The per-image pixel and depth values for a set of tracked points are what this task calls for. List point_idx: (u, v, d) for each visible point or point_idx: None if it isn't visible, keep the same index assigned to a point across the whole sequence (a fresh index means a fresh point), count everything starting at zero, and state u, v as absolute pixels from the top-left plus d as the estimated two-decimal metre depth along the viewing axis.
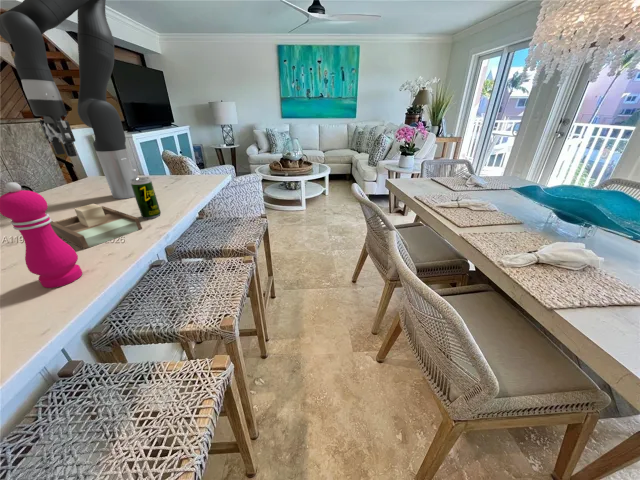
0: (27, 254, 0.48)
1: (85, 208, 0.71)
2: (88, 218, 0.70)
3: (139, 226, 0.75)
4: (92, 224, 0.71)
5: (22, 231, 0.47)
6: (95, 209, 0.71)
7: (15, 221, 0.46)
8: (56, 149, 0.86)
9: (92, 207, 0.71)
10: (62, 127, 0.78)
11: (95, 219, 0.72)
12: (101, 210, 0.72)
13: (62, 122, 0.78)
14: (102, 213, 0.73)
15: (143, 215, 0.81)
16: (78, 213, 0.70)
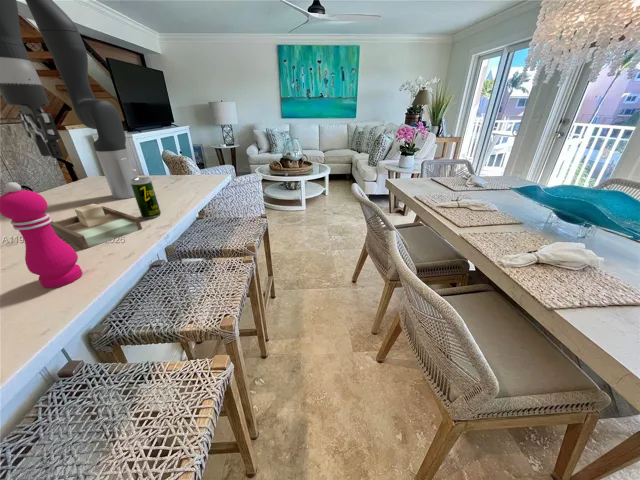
0: (27, 254, 0.48)
1: (85, 208, 0.71)
2: (88, 218, 0.70)
3: (139, 226, 0.75)
4: (92, 224, 0.71)
5: (22, 231, 0.47)
6: (95, 209, 0.71)
7: (15, 221, 0.46)
8: (41, 150, 0.69)
9: (92, 207, 0.71)
10: (44, 122, 0.62)
11: (95, 219, 0.72)
12: (101, 210, 0.72)
13: (44, 116, 0.62)
14: (102, 213, 0.73)
15: (143, 215, 0.81)
16: (78, 213, 0.70)
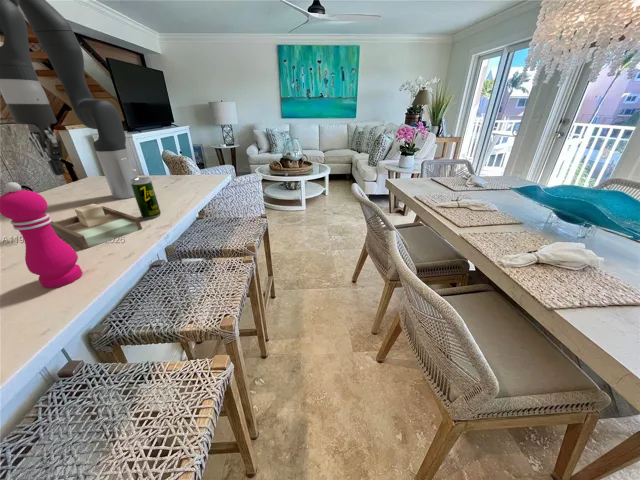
0: (27, 254, 0.48)
1: (85, 208, 0.71)
2: (88, 218, 0.70)
3: (139, 226, 0.75)
4: (92, 224, 0.71)
5: (22, 231, 0.47)
6: (95, 209, 0.71)
7: (15, 221, 0.46)
8: None
9: (92, 207, 0.71)
10: (52, 147, 0.65)
11: (95, 219, 0.72)
12: (101, 210, 0.72)
13: (53, 142, 0.65)
14: (102, 213, 0.73)
15: (143, 215, 0.81)
16: (78, 213, 0.70)
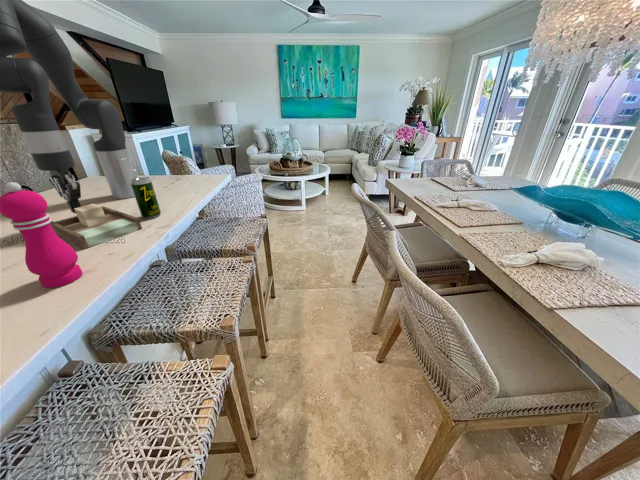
0: (27, 254, 0.48)
1: (85, 208, 0.71)
2: (88, 218, 0.70)
3: (139, 226, 0.75)
4: (92, 224, 0.71)
5: (22, 231, 0.47)
6: (95, 209, 0.71)
7: (15, 221, 0.46)
8: None
9: (92, 207, 0.71)
10: (71, 190, 0.70)
11: (95, 219, 0.72)
12: (101, 210, 0.72)
13: (73, 186, 0.70)
14: (102, 213, 0.73)
15: (143, 215, 0.81)
16: (78, 213, 0.70)
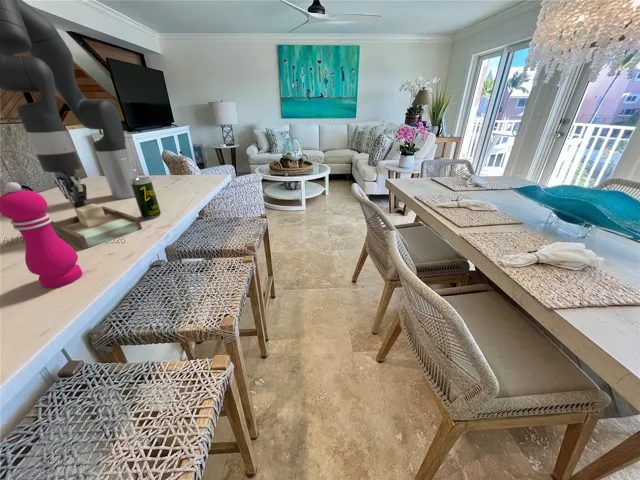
0: (27, 254, 0.48)
1: (85, 208, 0.71)
2: (88, 218, 0.70)
3: (139, 226, 0.75)
4: (92, 224, 0.71)
5: (22, 231, 0.47)
6: (95, 209, 0.71)
7: (15, 221, 0.46)
8: None
9: (92, 208, 0.71)
10: (77, 192, 0.68)
11: (95, 219, 0.72)
12: (101, 210, 0.72)
13: (79, 188, 0.68)
14: (102, 213, 0.73)
15: (143, 215, 0.81)
16: (78, 213, 0.70)
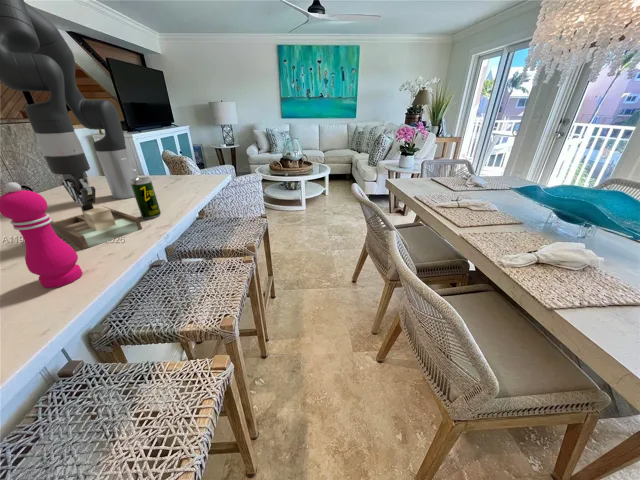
0: (27, 254, 0.48)
1: (93, 211, 0.69)
2: (96, 221, 0.68)
3: (139, 226, 0.75)
4: (100, 227, 0.69)
5: (22, 231, 0.47)
6: (103, 212, 0.69)
7: (15, 221, 0.46)
8: None
9: (101, 211, 0.69)
10: (86, 195, 0.66)
11: (104, 223, 0.70)
12: (109, 213, 0.70)
13: (88, 191, 0.66)
14: (110, 216, 0.71)
15: (143, 215, 0.81)
16: (86, 216, 0.68)
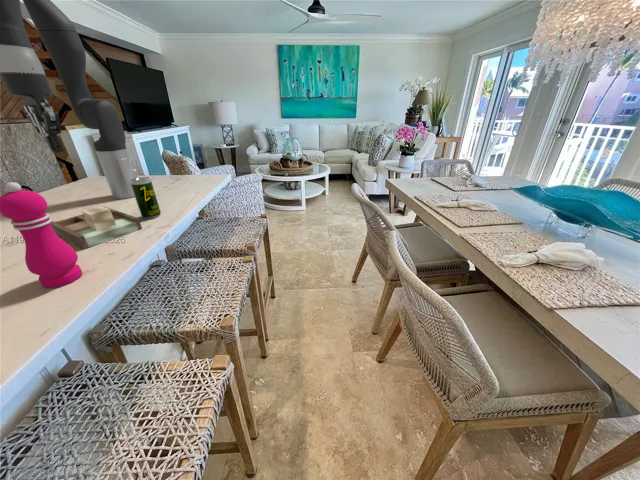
0: (27, 254, 0.48)
1: (93, 211, 0.69)
2: (96, 221, 0.68)
3: (139, 226, 0.75)
4: (100, 227, 0.69)
5: (22, 231, 0.47)
6: (103, 212, 0.69)
7: (15, 221, 0.46)
8: None
9: (101, 210, 0.69)
10: (49, 121, 0.61)
11: (104, 223, 0.70)
12: (109, 213, 0.70)
13: (51, 115, 0.61)
14: (110, 216, 0.71)
15: (143, 215, 0.81)
16: (86, 216, 0.68)
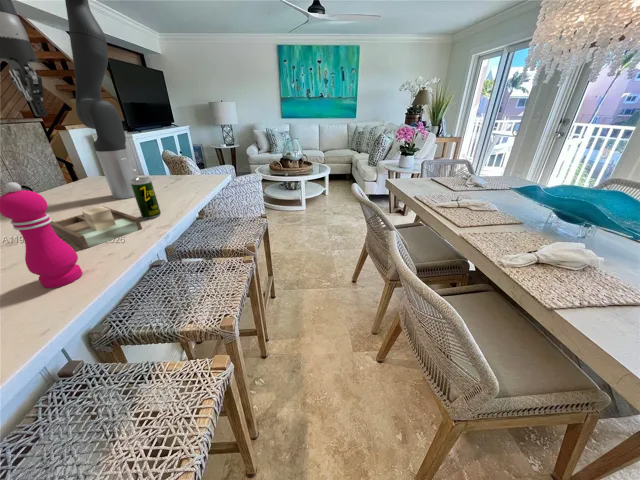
0: (27, 254, 0.48)
1: (93, 211, 0.69)
2: (96, 221, 0.68)
3: (139, 226, 0.75)
4: (100, 227, 0.69)
5: (22, 231, 0.47)
6: (103, 212, 0.69)
7: (15, 221, 0.46)
8: None
9: (101, 210, 0.69)
10: (32, 84, 0.66)
11: (104, 223, 0.70)
12: (109, 213, 0.70)
13: (34, 79, 0.65)
14: (110, 216, 0.71)
15: (143, 215, 0.81)
16: (86, 216, 0.68)
